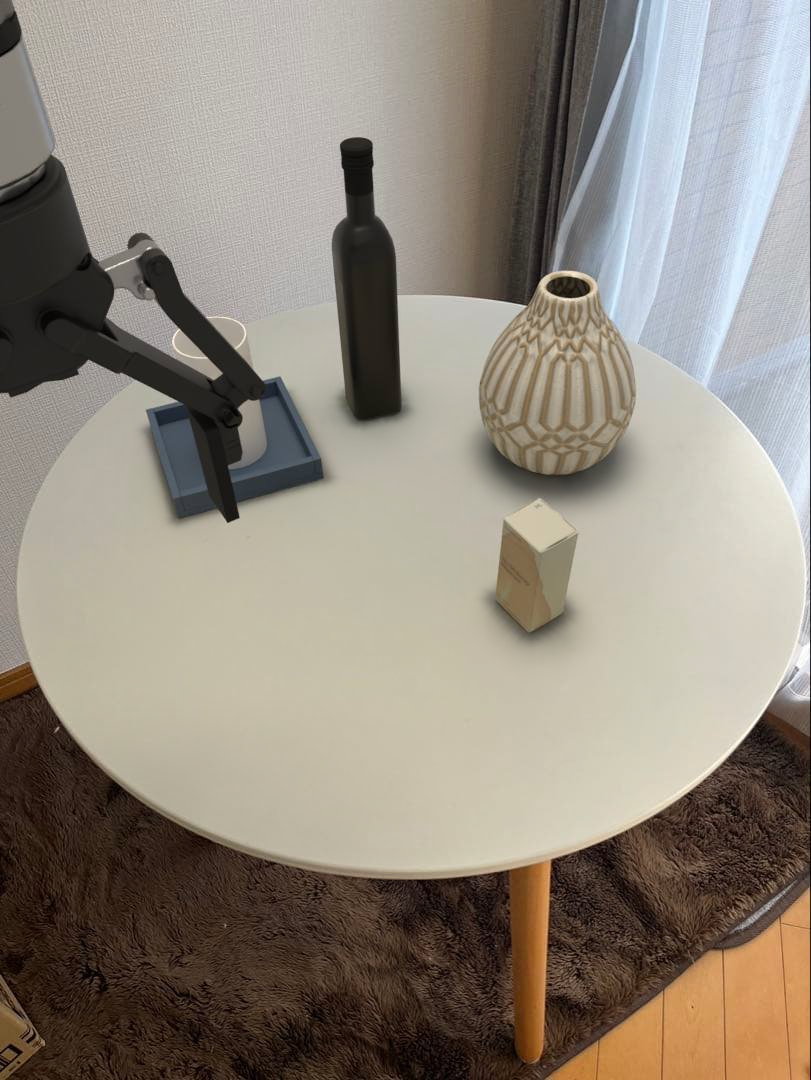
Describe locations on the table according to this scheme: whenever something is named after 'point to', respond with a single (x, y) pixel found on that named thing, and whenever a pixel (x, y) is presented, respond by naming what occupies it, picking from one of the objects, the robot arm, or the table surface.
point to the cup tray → (277, 469)
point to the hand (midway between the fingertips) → (110, 554)
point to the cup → (192, 356)
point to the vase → (558, 380)
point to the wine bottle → (366, 292)
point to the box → (535, 564)
